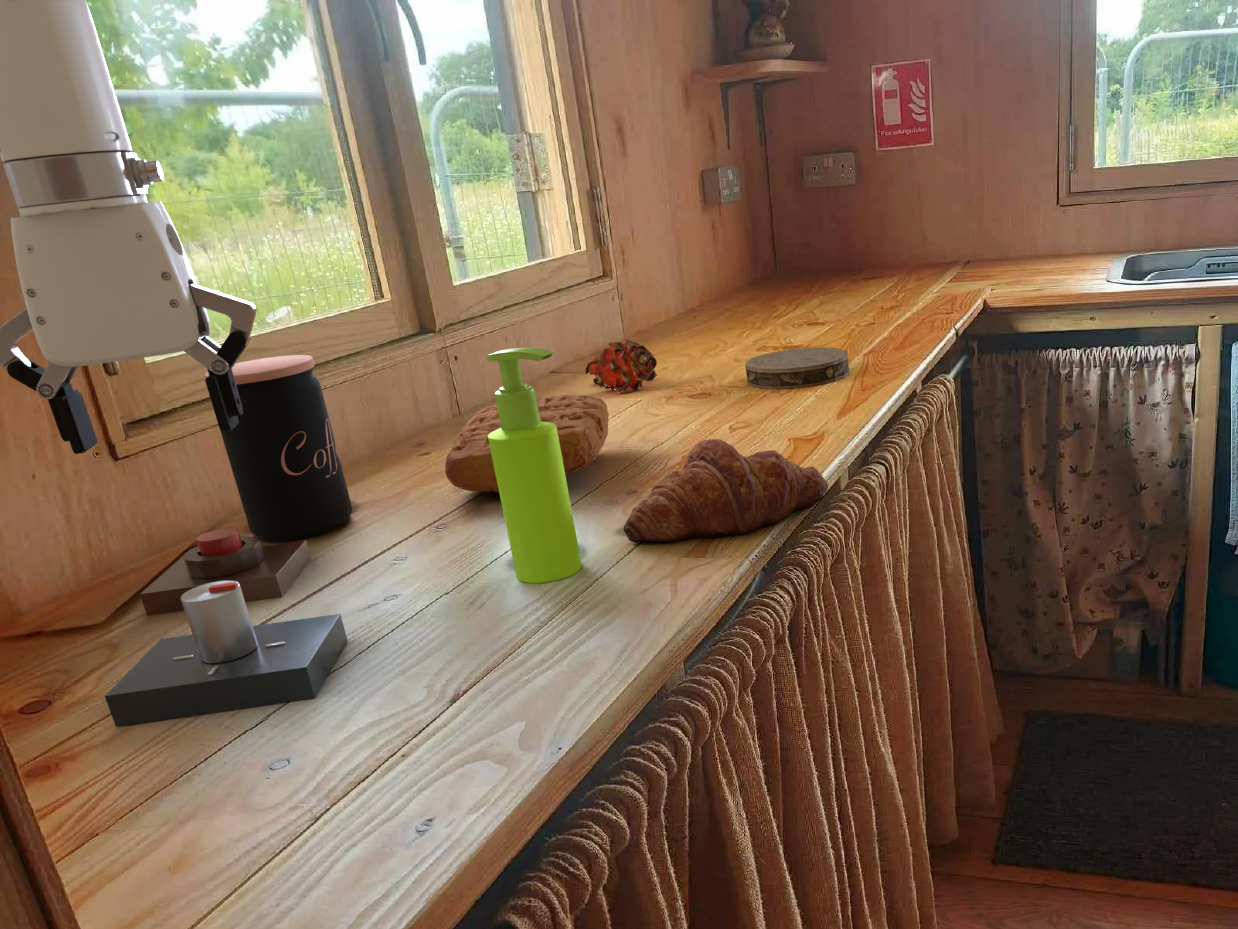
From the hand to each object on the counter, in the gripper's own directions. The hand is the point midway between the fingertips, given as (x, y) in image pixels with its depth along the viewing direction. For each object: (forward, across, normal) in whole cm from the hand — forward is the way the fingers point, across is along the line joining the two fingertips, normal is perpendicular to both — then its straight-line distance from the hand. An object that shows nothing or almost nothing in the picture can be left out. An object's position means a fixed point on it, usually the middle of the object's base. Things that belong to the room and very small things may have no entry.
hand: (159, 438), depth 78 cm
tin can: (+19, -68, -77) cm, 104 cm away
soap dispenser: (+19, -26, -9) cm, 33 cm away
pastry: (+19, -44, -14) cm, 50 cm away
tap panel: (+19, -1, +3) cm, 19 cm away
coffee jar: (+19, 0, -38) cm, 42 cm away
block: (+19, +4, -21) cm, 28 cm away
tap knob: (+16, -1, +3) cm, 16 cm away
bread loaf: (+19, -26, -43) cm, 54 cm away
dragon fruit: (+19, -43, -87) cm, 99 cm away
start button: (+15, +4, -21) cm, 26 cm away
